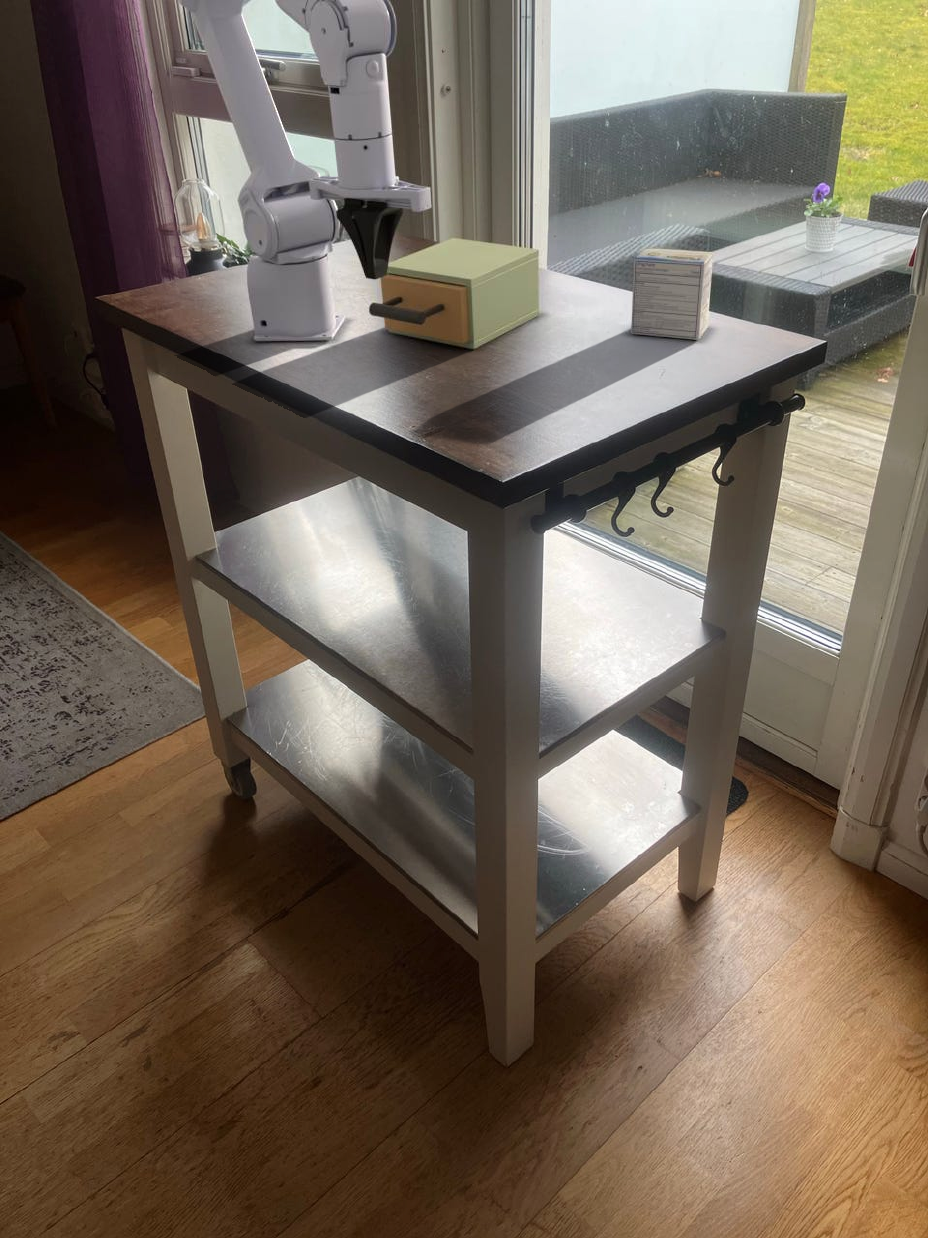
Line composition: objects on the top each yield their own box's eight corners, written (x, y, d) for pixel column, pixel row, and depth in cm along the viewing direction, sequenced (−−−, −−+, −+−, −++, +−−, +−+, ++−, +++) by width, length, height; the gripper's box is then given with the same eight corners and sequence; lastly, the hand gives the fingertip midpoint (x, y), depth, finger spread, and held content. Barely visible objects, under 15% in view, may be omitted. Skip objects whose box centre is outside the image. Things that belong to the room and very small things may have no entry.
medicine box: (708, 329, 115) (715, 251, 111) (698, 341, 112) (705, 262, 107) (641, 323, 118) (645, 246, 113) (629, 335, 115) (633, 257, 110)
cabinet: (474, 349, 114) (470, 279, 109) (388, 332, 120) (382, 265, 116) (539, 315, 123) (538, 249, 118) (456, 300, 129) (452, 237, 125)
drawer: (436, 357, 110) (432, 302, 106) (357, 340, 115) (351, 287, 112) (524, 312, 121) (523, 261, 117) (448, 299, 127) (446, 250, 123)
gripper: (446, 132, 98) (454, 275, 105) (335, 124, 105) (350, 258, 113) (400, 144, 93) (411, 293, 101) (287, 136, 100) (306, 274, 108)
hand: (376, 276), depth 106 cm, fingers closed
